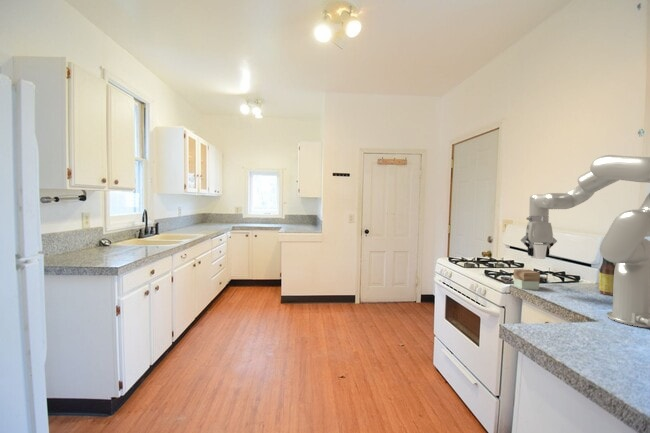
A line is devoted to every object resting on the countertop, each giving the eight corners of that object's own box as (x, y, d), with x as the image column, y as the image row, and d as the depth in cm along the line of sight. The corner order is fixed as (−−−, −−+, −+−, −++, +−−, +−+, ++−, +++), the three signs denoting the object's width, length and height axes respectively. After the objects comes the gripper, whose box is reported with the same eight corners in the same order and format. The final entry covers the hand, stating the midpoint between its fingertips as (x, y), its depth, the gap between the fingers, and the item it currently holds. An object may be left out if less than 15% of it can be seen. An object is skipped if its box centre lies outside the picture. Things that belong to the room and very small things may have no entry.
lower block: (538, 290, 142) (539, 281, 142) (521, 289, 144) (521, 280, 144) (530, 286, 150) (530, 277, 150) (514, 285, 152) (514, 277, 152)
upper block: (539, 281, 143) (539, 272, 143) (523, 281, 143) (524, 272, 143) (528, 277, 151) (528, 269, 151) (513, 277, 151) (513, 269, 151)
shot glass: (550, 259, 133) (551, 244, 133) (536, 259, 133) (536, 244, 133) (539, 256, 140) (540, 243, 140) (526, 256, 140) (526, 243, 140)
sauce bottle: (608, 292, 139) (610, 253, 139) (620, 296, 133) (622, 255, 132) (594, 291, 140) (596, 252, 139) (606, 295, 134) (607, 254, 133)
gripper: (523, 219, 134) (522, 256, 134) (563, 220, 131) (563, 257, 131) (515, 219, 141) (515, 254, 142) (553, 219, 138) (553, 255, 139)
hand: (538, 255), depth 136 cm, fingers closed on shot glass, 6 cm apart
